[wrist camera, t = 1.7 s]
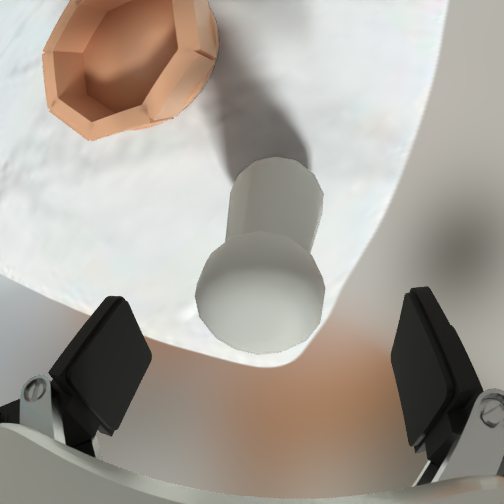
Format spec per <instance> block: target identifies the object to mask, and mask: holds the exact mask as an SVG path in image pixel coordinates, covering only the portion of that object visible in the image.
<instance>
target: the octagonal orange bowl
mask: <svg viewBox="0 0 504 504" xmlns="http://www.w3.org/2000/svg"><path fill="white" fill-rule="evenodd" d="M218 49H219V31H218V26H217V22H216V19H215V17H214V15H213V12H212V11H211V9H210V8H209V2H208V1H207V0H70V2H69V3H68V5H67V6H66V8H65V10H64V12H63V13H62V15H61V17H60V18H59V20H58V22H57V24H56V26H55V28H54V29H53V31H52V33H51V35H50V37H49V39H48V41H47V43H46V45H45V47H44V50H43V51H44V52H45V53H44V54H42V61H43V73H44V83H45V92H46V99H47V106H48V109H49V108H50V111H49V112H51V113H52V114H53V115H55V116H56V117H57V118H59V119H60V120H61V121H63V122H64V123H65V124H67V125H68V126H69V127H71V128H72V129H73V130H74V131H76V132H77V133H78V134H80V135H81V136H82V137H84V138H85V139H86V140H88V141H89V140H91V141H94V140H97V139H100V138H104V137H107V136H110V135H114V134H117V133H121V132H124V131H128V130H139V129H144V128H148V127H152V126H155V125H158V124H161V123H163V122H165V121H167V120H169V119H173V117H175V116H177V115H178V114H179V113H180V112H181V111H183V110H184V109H185V108H186V107H187V106H188V105H189V104H190V103H191V102H192V101H193V100H194V99H195V98H196V97H197V96H198V95H199V93H200V92H201V91H202V89H203V88H204V86H205V85H206V83H207V82H208V80H209V78H210V76H211V73H212V71H213V69H214V66H215V63H216V60H217V55H218Z"/></svg>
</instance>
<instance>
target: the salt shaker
mask: <svg viewBox="0 0 504 504" xmlns="http://www.w3.org/2000/svg"><path fill="white" fill-rule="evenodd" d="M323 195H324V194H323V191H322V189H321V187H320V185H319V183H318V181H317V179H316V177H315V175H314V174H313V173H312V172H310V171H309V170H308V169H307V168H306V167H304V166H303V165H302V164H301V163H300V162H298V161H297V160H292V159H287V158H282V157H277V156H275V157H270V158H265V159H261V160H256V161H254V162H253V163H251V164H250V165H249V166H248V167H247V168H245V169H244V170H243V171H242V172H241V173H240V174H238V176H237V179H236V181H235V183H234V186H233V188H232V190H231V192H230V201H229V211H228V220H227V230H226V240H225V243H224V244H223V245H221V246H220V247H219V248H217V249H216V250H215V251H214V252H212V253H211V255H210V257H209V258H208V260H207V261H206V263H205V266H204V268H203V271H202V273H201V276H200V278H199V280H198V283H197V287H196V293H195V299H196V303H197V308H198V312H199V317H200V318H201V320H202V321H203V322H204V324H205V325H206V326H207V327H208V329H209V330H210V331H211V333H212V334H213V335H214V336H215V337H216V338H217V339H218V340H220V341H222V342H224V343H225V344H227V345H229V346H231V347H232V348H234V349H236V350H240V351H244V352H248V353H253V354H258V355H259V354H269V353H279V352H282V351H285V350H287V349H289V348H291V347H293V346H296V345H298V344H300V343H302V342H304V341H306V340H307V339H308V338H309V336H310V335H311V334H312V333H313V331H314V330H315V329H316V328H317V326H318V325H319V324H320V320H321V314H322V307H323V301H324V294H325V286H324V282H323V278H322V275H321V273H320V271H319V269H318V267H317V265H316V263H315V261H314V259H313V257H312V255H311V254H310V252H311V249H312V246H313V243H314V239H315V236H316V233H317V229H318V226H319V223H320V219H321V216H322V209H323Z"/></svg>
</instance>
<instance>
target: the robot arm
mask: <svg viewBox="0 0 504 504" xmlns="http://www.w3.org/2000/svg"><path fill="white" fill-rule="evenodd" d="M151 359H152V354H151V351H150V349H149V347H148V345H147V343H146V341H145V339H144V336H143V334H142V332H141V330H140V328H139V326H138V323H137V321H136V319H135V317H134V314H133V312H132V310H131V308H130V305H129V303H128V302H127V301H125V299H124V298H123V297H121V296H108V297H106V298H105V300H104V301H103V302H102V303H101V304H100V306H99V307H98V308H97V309H96V310H95V312H94V313H93V314H92V315H91V317H90V318H89V319H88V320H87V322H86V323H85V324H84V325H83V327H82V328H81V329H80V331H79V332H78V333H77V335H76V336H75V337H74V338H73V340H72V341H71V342H70V344H69V345H68V346H67V348H66V349H65V350H64V352H63V353H62V354H61V356H60V357H59V358H58V360H57V361H56V362H55V364H54V365H53V367H52V368H51V369H50V371H49V372H48V373H49V374H50V376H51V377H52V378H53V380H52V381H50V380H49V379H48V377H46V376H44V375H38V376H34V377H32V378H30V379H29V380H28V381H27V382H26V383H25V384H24V386H23V388H22V390H21V396H20V399H18V400H16V401H13V402H11V403H9V404H6V405H4V406H1V407H0V504H504V391H503V390H500V389H488V390H486V391H483V389H482V386H481V384H480V381H479V379H478V377H477V375H476V372H475V370H474V368H473V366H472V363H471V361H470V359H469V357H468V355H467V353H466V351H465V348H464V346H463V344H462V342H461V340H460V338H459V336H458V334H457V332H456V330H455V329H454V327H453V326H452V325H450V323H449V322H448V320H447V318H446V316H445V314H444V312H443V311H442V309H441V307H440V305H439V303H438V302H437V300H436V298H435V296H434V295H433V293H432V291H431V289H430V288H429V287H417V288H411V290H410V293H406V294H405V297H404V301H403V306H402V311H401V315H400V320H399V324H398V328H397V332H396V336H395V340H394V344H393V347H392V351H391V363H392V367H393V371H394V374H395V378H396V383H397V387H398V392H399V396H400V401H401V405H402V410H403V415H404V420H405V425H406V431H407V437H408V442H409V445H410V446H414V449H415V453H419V452H423V451H426V453H427V459H428V462H427V464H426V465H425V467H424V469H423V470H422V472H421V473H420V475H419V477H418V478H417V480H416V481H415V483H414V484H413V485H412V487H409V488H404V489H399V490H394V491H388V492H382V493H375V494H368V495H359V496H350V497H338V498H321V499H277V498H259V497H248V496H239V495H230V494H223V493H217V492H211V491H205V490H199V489H194V488H189V487H185V486H180V485H176V484H172V483H168V482H164V481H160V480H157V479H153V478H150V477H147V476H143V475H140V474H137V473H134V472H131V471H128V470H125V469H122V468H119V467H117V466H114V465H111V464H109V463H106V462H104V461H103V458H102V455H101V452H100V447H99V444H98V440H97V436H96V432H97V430H99V431H100V432H101V433H103V434H106V435H109V436H112V435H113V433H114V431H115V430H117V429H118V428H119V426H120V424H121V422H122V420H123V417H124V415H125V413H126V411H127V409H128V407H129V405H130V403H131V401H132V399H133V397H134V395H135V392H136V390H137V388H138V386H139V384H140V382H141V380H142V378H143V376H144V374H145V372H146V370H147V368H148V366H149V364H150V362H151Z"/></svg>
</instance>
